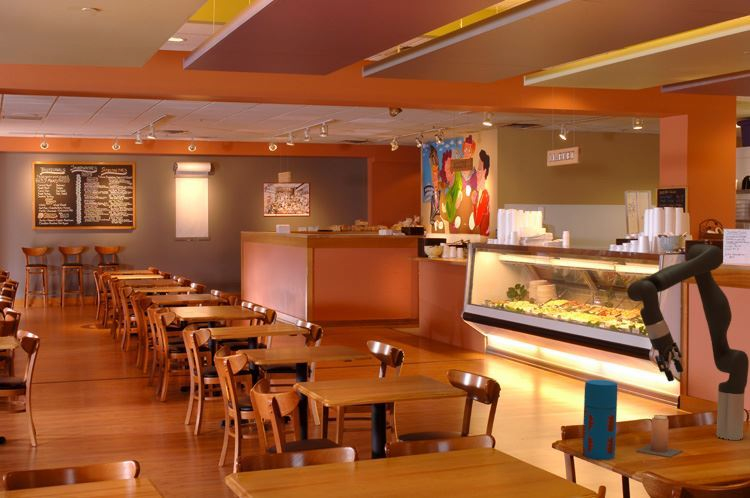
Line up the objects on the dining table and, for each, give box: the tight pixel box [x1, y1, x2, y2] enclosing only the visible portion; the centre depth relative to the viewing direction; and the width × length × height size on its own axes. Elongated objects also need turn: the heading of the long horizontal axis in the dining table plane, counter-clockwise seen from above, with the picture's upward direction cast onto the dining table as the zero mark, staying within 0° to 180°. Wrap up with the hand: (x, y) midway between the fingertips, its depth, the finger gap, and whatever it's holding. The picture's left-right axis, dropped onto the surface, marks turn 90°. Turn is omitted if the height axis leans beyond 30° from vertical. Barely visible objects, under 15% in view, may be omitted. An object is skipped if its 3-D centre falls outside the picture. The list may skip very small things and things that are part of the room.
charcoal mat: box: [635, 444, 684, 459], centre depth 331 cm, size 12×12×1 cm
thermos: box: [582, 379, 619, 461], centre depth 322 cm, size 11×11×25 cm
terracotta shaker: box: [650, 414, 669, 452], centre depth 331 cm, size 6×6×12 cm
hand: (676, 376), depth 336 cm, fingers open, 8 cm apart
